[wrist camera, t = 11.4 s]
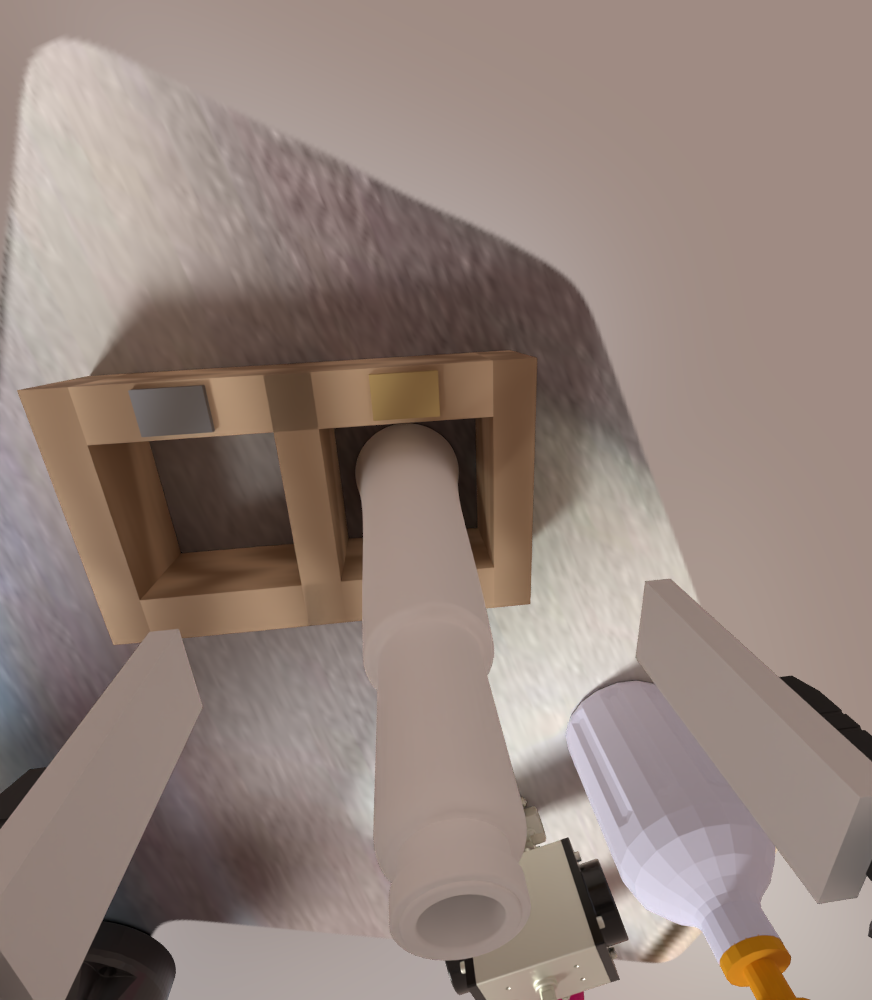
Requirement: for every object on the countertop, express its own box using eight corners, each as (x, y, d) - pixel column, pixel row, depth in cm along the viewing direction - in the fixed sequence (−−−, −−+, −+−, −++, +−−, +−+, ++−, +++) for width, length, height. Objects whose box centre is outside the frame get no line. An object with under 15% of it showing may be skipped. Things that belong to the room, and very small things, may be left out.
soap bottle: (548, 706, 35) (836, 1414, 13) (662, 660, 35) (1182, 1317, 12) (582, 779, 39) (858, 1443, 16) (686, 738, 38) (1129, 1369, 15)
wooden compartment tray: (157, 592, 29) (110, 648, 24) (89, 375, 24) (11, 391, 19) (508, 559, 30) (531, 607, 25) (510, 350, 25) (539, 358, 21)
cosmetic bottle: (342, 503, 28) (218, 1019, 7) (373, 407, 26) (319, 747, 6) (437, 531, 29) (552, 1036, 9) (473, 442, 27) (727, 820, 7)
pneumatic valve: (430, 817, 39) (447, 1020, 28) (564, 771, 38) (636, 959, 27) (452, 856, 41) (476, 1059, 30) (580, 812, 40) (653, 1003, 29)
